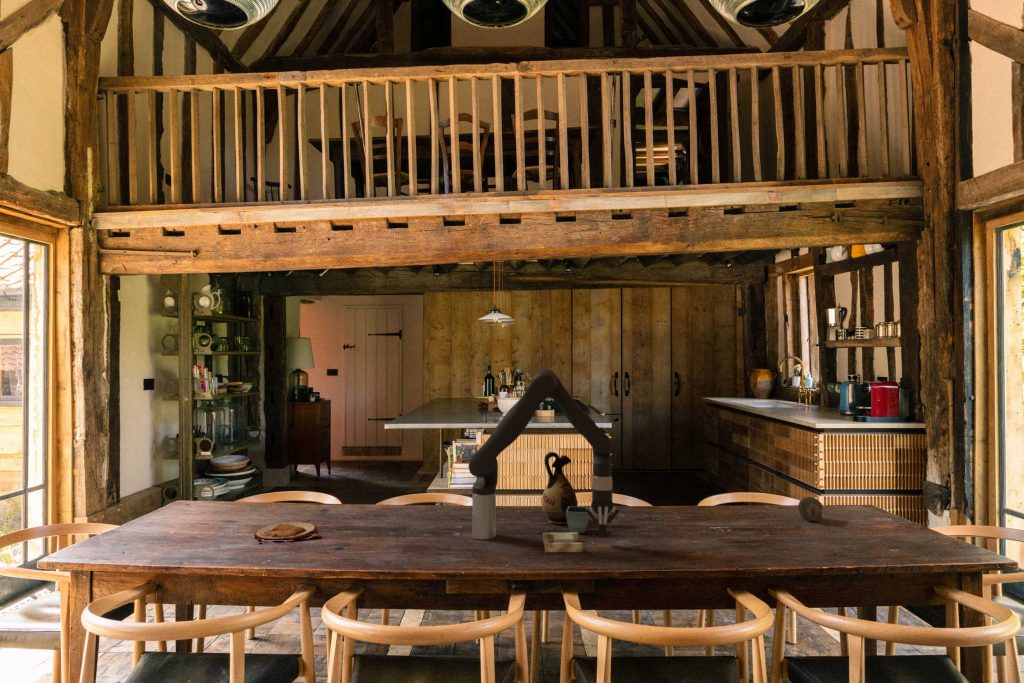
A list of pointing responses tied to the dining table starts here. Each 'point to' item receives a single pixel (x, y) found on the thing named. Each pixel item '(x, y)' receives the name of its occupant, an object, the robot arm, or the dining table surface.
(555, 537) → the cream footed box
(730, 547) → the dining table surface
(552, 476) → the ceramic jug
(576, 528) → the flower pot
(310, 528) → the plate with food
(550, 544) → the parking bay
